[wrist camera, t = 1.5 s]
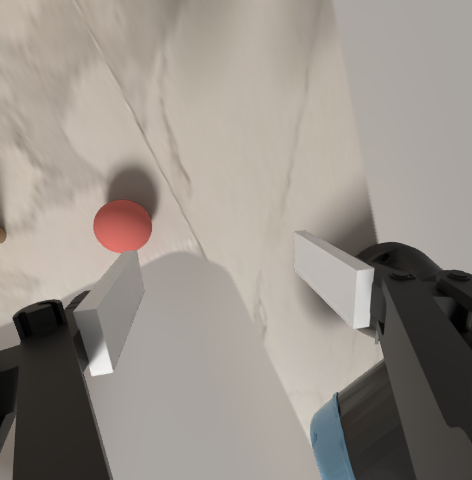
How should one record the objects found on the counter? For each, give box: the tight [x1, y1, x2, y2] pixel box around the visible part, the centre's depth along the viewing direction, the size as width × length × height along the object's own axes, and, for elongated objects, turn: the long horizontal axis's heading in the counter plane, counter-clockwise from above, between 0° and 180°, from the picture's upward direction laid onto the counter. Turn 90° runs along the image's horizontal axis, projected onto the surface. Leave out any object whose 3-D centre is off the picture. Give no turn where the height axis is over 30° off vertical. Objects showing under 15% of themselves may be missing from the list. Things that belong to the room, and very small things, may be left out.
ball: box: [93, 200, 152, 253], centre depth 28 cm, size 6×6×6 cm
